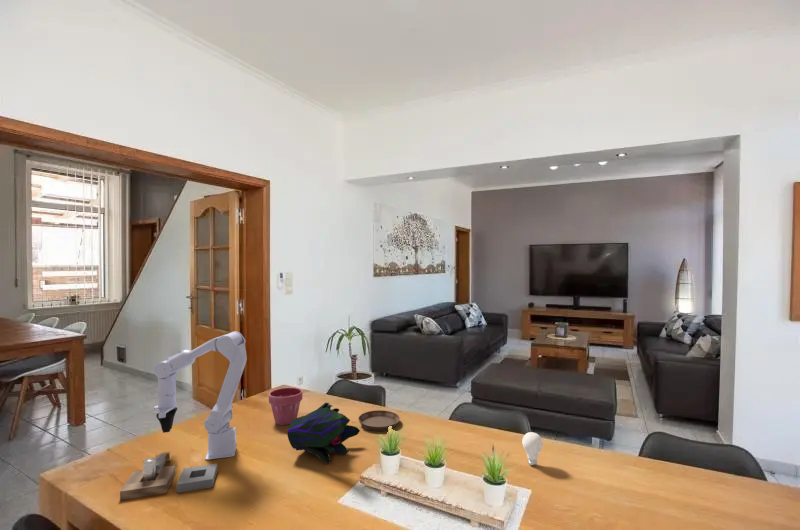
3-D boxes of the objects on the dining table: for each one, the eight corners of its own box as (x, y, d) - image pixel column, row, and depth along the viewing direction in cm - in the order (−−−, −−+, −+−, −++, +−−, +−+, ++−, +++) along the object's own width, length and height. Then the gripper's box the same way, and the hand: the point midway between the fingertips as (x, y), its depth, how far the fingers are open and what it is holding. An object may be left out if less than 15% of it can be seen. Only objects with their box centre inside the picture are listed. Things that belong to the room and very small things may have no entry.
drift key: (170, 458, 141) (170, 451, 141) (163, 472, 132) (163, 465, 132) (156, 460, 140) (156, 453, 140) (147, 475, 130) (147, 467, 130)
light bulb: (542, 462, 138) (542, 430, 138) (542, 471, 132) (542, 438, 132) (522, 459, 140) (522, 427, 140) (521, 468, 134) (521, 435, 134)
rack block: (217, 471, 133) (217, 463, 133) (212, 487, 124) (212, 479, 124) (183, 476, 130) (183, 468, 130) (176, 492, 121) (176, 484, 121)
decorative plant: (315, 467, 154) (385, 457, 145) (270, 470, 132) (350, 459, 123) (314, 410, 163) (380, 398, 154) (272, 404, 142) (347, 390, 132)
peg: (156, 482, 127) (156, 457, 127) (153, 487, 124) (153, 461, 124) (145, 483, 126) (145, 458, 126) (142, 489, 123) (141, 463, 123)
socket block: (175, 472, 132) (175, 465, 132) (166, 492, 121) (166, 484, 121) (133, 478, 129) (133, 471, 129) (120, 500, 117) (120, 491, 117)
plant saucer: (407, 422, 174) (407, 415, 174) (384, 437, 160) (384, 429, 159) (374, 414, 184) (374, 407, 184) (349, 427, 169) (349, 420, 169)
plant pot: (288, 412, 186) (288, 384, 185) (309, 419, 177) (309, 390, 177) (262, 422, 174) (261, 393, 174) (282, 430, 166) (282, 399, 166)
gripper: (159, 388, 151) (160, 424, 152) (148, 401, 138) (148, 440, 138) (180, 386, 154) (181, 422, 154) (171, 398, 140) (171, 437, 140)
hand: (167, 430), depth 146 cm, fingers closed
